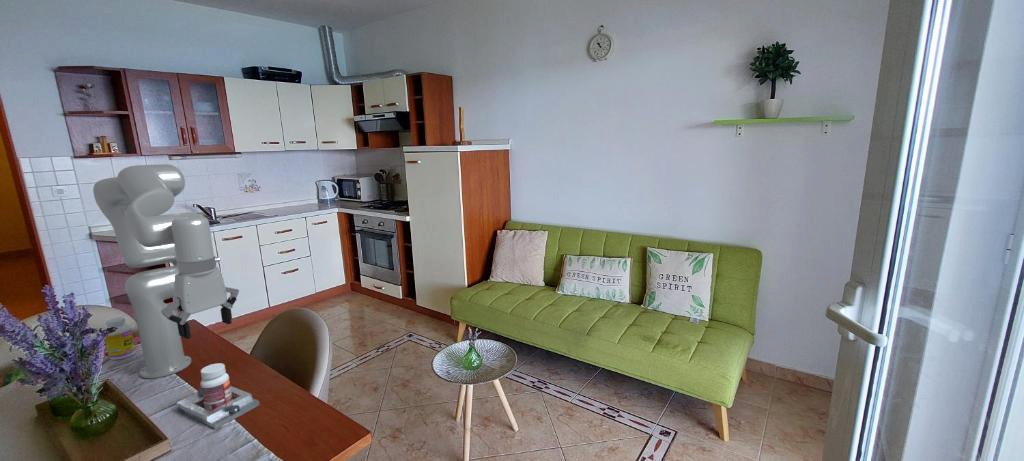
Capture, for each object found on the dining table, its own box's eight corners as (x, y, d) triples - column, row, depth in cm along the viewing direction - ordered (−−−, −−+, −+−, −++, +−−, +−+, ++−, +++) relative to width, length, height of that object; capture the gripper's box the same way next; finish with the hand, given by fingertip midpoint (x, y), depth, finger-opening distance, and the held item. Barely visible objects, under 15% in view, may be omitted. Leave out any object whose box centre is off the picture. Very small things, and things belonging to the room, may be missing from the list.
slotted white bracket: (178, 411, 111) (176, 399, 111) (222, 389, 121) (220, 379, 120) (215, 429, 104) (213, 417, 103) (259, 405, 113) (257, 394, 113)
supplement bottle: (128, 359, 141) (120, 322, 138) (104, 362, 139) (96, 325, 137) (140, 350, 147) (133, 315, 145) (117, 352, 146) (110, 317, 143)
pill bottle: (233, 409, 112) (227, 369, 109) (204, 417, 108) (197, 376, 106) (233, 398, 117) (227, 359, 115) (205, 405, 113) (198, 366, 111)
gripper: (225, 256, 116) (233, 315, 119) (147, 273, 101) (160, 340, 104) (241, 259, 112) (249, 320, 116) (163, 277, 97) (176, 347, 101)
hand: (207, 330), depth 110 cm, fingers open, 9 cm apart
